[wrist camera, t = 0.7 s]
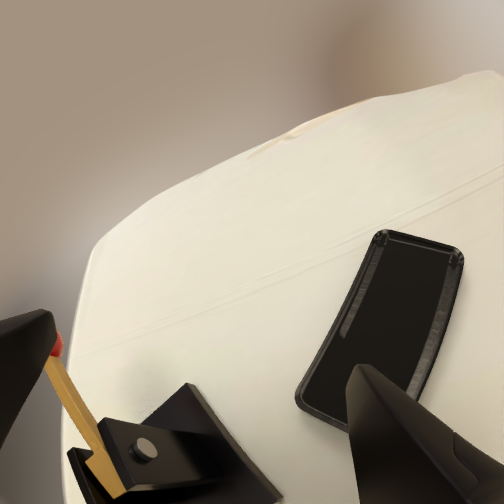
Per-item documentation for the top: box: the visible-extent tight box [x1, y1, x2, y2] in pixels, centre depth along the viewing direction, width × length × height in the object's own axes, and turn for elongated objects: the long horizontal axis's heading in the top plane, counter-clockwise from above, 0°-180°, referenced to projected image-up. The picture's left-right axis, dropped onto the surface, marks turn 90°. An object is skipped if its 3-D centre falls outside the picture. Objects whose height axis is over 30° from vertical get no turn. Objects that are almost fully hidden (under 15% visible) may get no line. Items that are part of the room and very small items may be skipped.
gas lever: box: [44, 329, 128, 499], centre depth 14 cm, size 13×3×3 cm, turn 39°
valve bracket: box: [67, 383, 283, 504], centre depth 14 cm, size 12×9×10 cm
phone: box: [295, 229, 464, 433], centre depth 18 cm, size 8×1×15 cm
